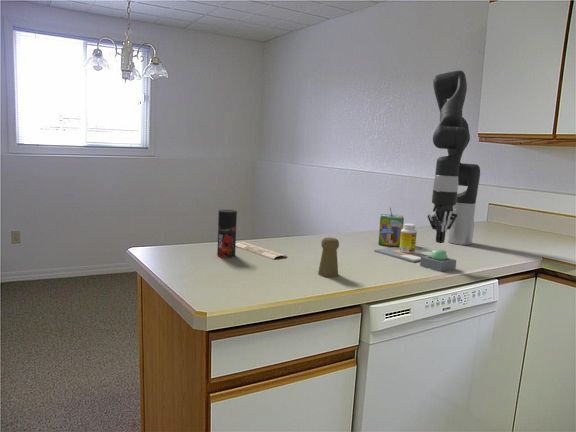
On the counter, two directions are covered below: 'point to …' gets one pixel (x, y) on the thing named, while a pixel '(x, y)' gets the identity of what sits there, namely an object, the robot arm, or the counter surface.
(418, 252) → the sheet board
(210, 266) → the counter surface
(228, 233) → the deodorant
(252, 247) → the newspaper
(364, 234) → the counter surface
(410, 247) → the supplement bottle
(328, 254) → the cork
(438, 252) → the button
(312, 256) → the counter surface
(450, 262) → the button housing
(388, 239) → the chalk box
